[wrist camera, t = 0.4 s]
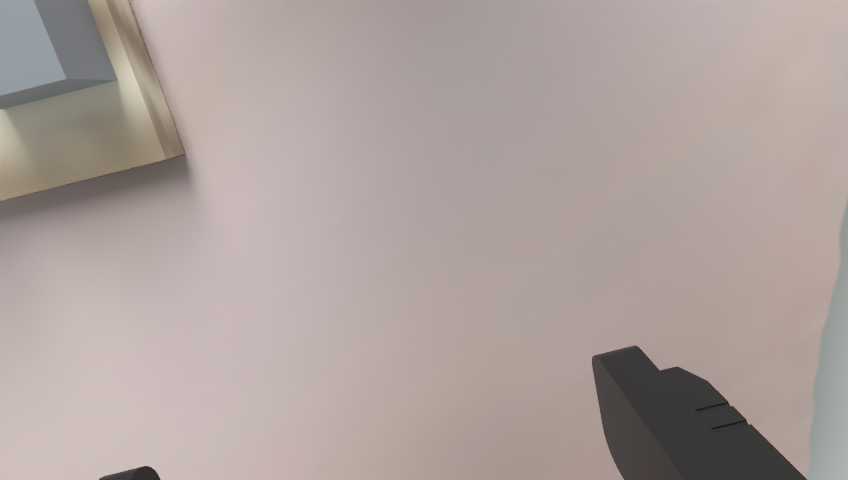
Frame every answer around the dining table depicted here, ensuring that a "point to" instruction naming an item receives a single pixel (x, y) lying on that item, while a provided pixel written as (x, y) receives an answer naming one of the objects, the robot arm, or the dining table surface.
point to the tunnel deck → (91, 119)
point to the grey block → (49, 50)
